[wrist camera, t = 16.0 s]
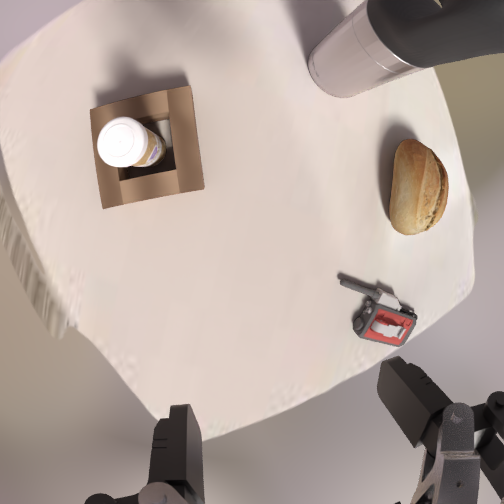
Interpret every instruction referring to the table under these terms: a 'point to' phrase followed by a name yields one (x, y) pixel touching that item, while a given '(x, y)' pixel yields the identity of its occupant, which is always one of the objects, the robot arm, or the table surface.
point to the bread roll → (417, 188)
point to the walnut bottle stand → (183, 137)
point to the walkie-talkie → (382, 317)
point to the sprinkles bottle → (129, 144)
